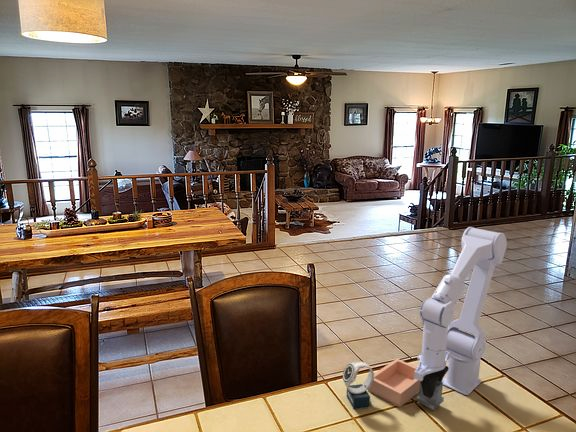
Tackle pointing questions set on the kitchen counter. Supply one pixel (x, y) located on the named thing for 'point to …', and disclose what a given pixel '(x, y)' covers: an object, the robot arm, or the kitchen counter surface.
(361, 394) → the watch
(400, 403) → the salmon pink open box
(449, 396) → the kitchen counter surface
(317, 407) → the kitchen counter surface
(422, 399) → the grey metal t-piece
